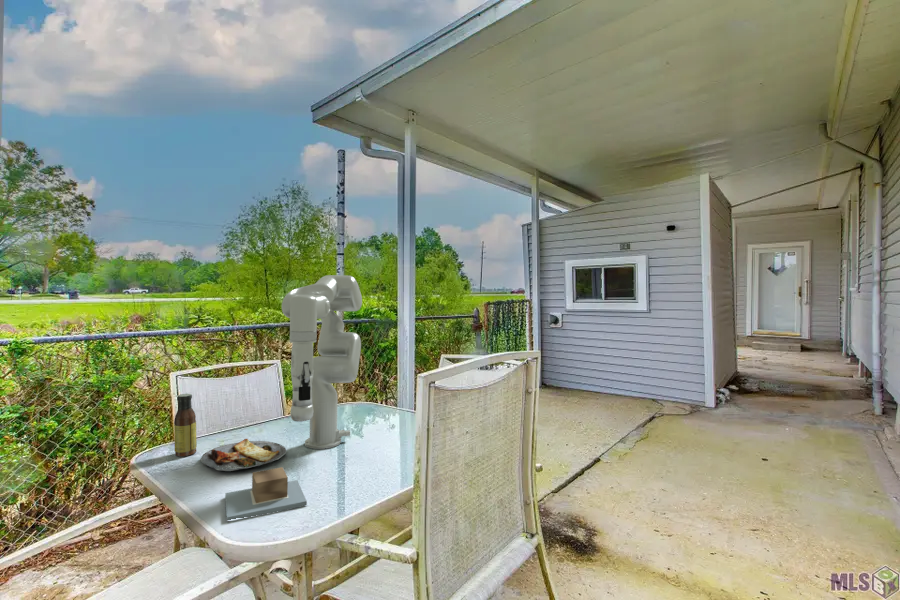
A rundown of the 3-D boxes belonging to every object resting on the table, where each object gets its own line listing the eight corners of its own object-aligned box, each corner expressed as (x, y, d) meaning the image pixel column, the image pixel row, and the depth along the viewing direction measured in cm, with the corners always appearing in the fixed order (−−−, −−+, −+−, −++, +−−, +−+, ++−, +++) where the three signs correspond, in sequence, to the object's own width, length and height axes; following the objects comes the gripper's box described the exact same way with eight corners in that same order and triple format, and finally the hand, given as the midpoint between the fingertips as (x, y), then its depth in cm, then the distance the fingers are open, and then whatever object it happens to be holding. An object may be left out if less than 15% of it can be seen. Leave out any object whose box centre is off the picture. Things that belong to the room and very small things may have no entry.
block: (282, 485, 117) (282, 467, 117) (287, 496, 111) (287, 477, 111) (252, 491, 113) (252, 472, 113) (255, 503, 107) (256, 483, 107)
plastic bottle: (318, 419, 129) (319, 353, 129) (303, 425, 123) (304, 355, 123) (300, 416, 131) (301, 351, 131) (285, 422, 125) (286, 354, 125)
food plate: (187, 460, 136) (188, 449, 136) (256, 442, 155) (256, 432, 155) (229, 483, 122) (229, 470, 122) (299, 459, 141) (299, 449, 141)
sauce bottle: (190, 449, 146) (191, 391, 146) (200, 453, 143) (201, 393, 143) (169, 455, 141) (170, 394, 141) (179, 459, 137) (180, 397, 137)
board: (297, 484, 121) (297, 479, 121) (306, 505, 109) (306, 500, 109) (225, 497, 112) (225, 492, 112) (226, 522, 100) (226, 517, 100)
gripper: (285, 334, 133) (284, 392, 133) (294, 340, 118) (293, 405, 118) (310, 334, 136) (309, 390, 136) (322, 339, 121) (321, 403, 121)
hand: (302, 397), depth 127 cm, fingers closed on plastic bottle, 5 cm apart
